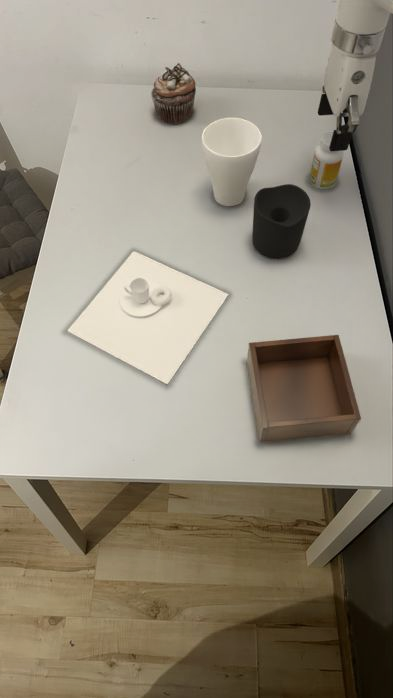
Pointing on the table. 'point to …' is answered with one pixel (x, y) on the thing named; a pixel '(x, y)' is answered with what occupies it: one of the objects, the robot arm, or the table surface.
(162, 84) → the cupcake
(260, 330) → the table surface
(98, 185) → the table surface
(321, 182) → the supplement bottle
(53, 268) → the table surface
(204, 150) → the cup
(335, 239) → the table surface
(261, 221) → the pen holder
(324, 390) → the holder
